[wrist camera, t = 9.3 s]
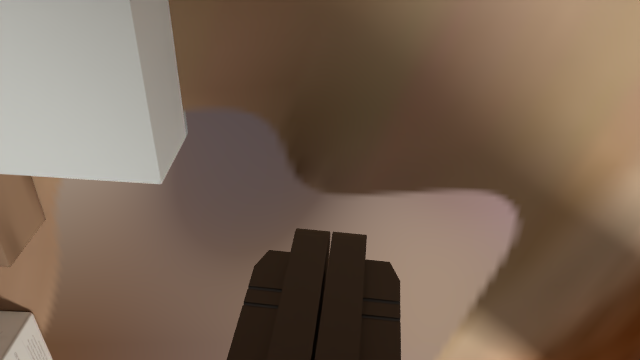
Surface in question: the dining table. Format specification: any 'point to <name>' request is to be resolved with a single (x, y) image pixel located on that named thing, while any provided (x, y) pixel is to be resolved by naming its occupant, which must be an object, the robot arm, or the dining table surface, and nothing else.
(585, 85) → the dining table surface
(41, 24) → the block
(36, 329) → the small box
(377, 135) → the dining table surface
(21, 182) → the brown long bar
